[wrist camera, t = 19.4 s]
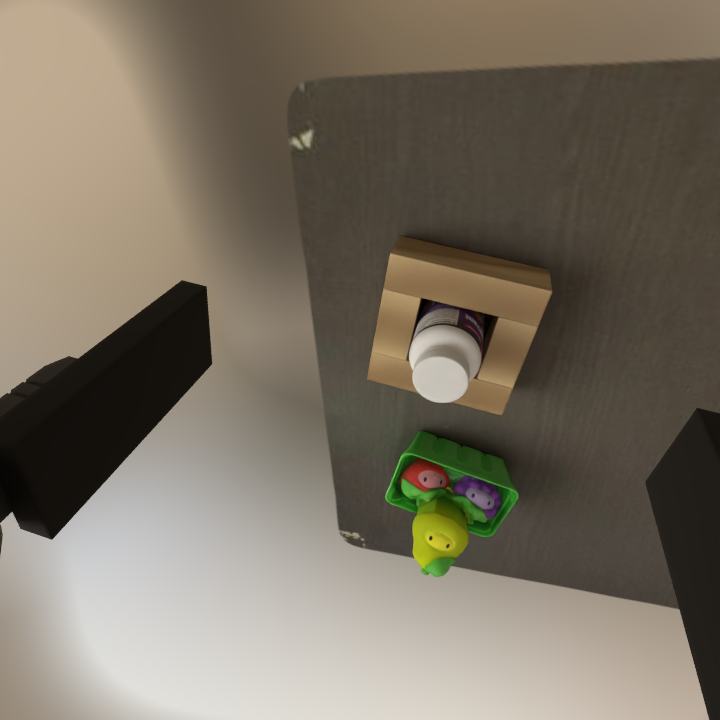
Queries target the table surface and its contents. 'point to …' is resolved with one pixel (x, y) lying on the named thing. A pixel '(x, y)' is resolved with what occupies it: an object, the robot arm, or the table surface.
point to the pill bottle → (446, 351)
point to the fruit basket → (449, 497)
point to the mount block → (466, 290)
